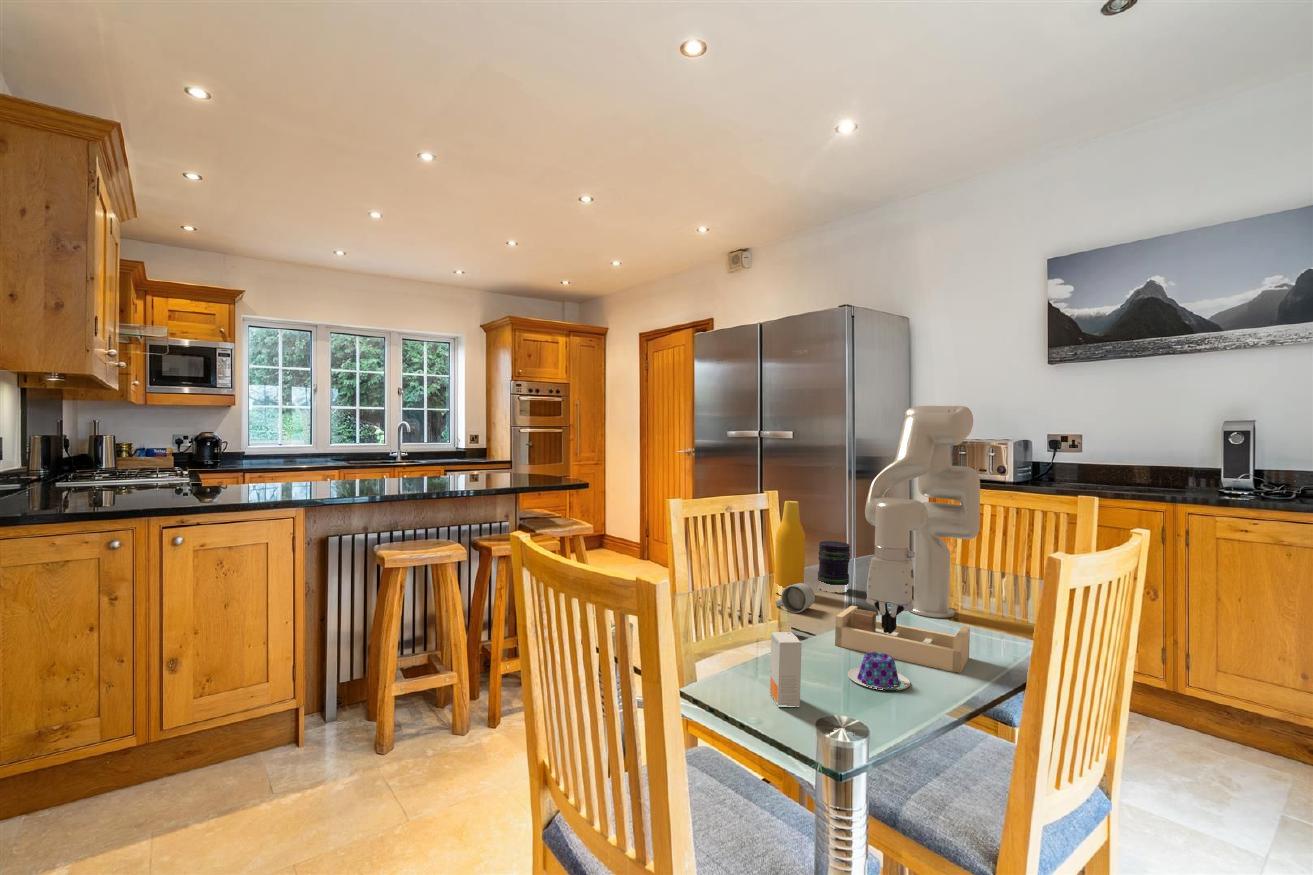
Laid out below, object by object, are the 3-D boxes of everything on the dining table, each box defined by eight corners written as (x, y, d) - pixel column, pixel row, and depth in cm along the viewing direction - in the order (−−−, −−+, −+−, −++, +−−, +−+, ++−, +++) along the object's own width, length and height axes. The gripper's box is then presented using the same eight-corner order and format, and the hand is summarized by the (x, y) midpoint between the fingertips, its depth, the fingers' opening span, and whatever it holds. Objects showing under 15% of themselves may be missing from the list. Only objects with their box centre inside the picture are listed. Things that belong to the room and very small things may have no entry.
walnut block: (856, 627, 151) (857, 608, 151) (875, 630, 149) (876, 612, 149) (851, 631, 148) (852, 613, 148) (871, 635, 145) (871, 616, 145)
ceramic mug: (816, 609, 178) (816, 582, 178) (806, 615, 171) (806, 587, 171) (781, 603, 184) (781, 577, 184) (770, 609, 177) (770, 582, 177)
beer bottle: (802, 598, 189) (805, 503, 189) (771, 595, 192) (774, 501, 192) (805, 591, 198) (808, 501, 197) (775, 588, 201) (778, 499, 200)
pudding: (903, 699, 118) (904, 671, 118) (840, 684, 124) (841, 658, 124) (914, 679, 128) (915, 653, 128) (855, 666, 134) (856, 642, 134)
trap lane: (850, 632, 157) (851, 605, 156) (968, 657, 141) (970, 627, 141) (834, 645, 147) (835, 615, 147) (960, 673, 131) (961, 640, 131)
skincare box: (768, 694, 117) (770, 631, 117) (790, 694, 118) (792, 631, 118) (777, 708, 111) (779, 642, 111) (800, 708, 112) (802, 642, 112)
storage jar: (818, 592, 198) (820, 545, 198) (815, 584, 207) (817, 540, 207) (850, 594, 196) (852, 547, 196) (846, 587, 206) (848, 542, 206)
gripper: (928, 556, 144) (926, 634, 144) (864, 547, 153) (861, 621, 153) (921, 561, 138) (918, 643, 138) (854, 552, 147) (851, 629, 147)
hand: (888, 631), depth 145 cm, fingers closed
